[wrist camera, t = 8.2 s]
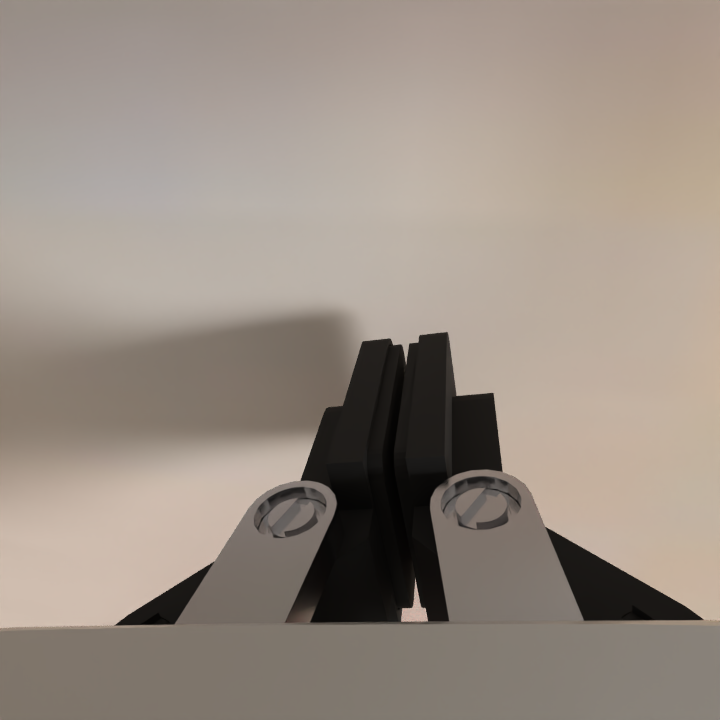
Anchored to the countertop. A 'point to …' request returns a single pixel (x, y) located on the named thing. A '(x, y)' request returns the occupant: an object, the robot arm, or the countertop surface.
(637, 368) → the countertop surface
